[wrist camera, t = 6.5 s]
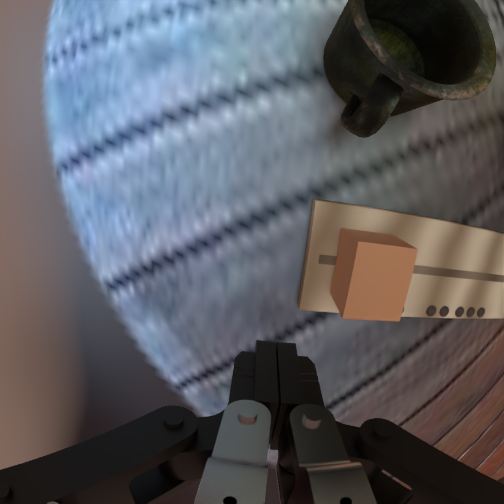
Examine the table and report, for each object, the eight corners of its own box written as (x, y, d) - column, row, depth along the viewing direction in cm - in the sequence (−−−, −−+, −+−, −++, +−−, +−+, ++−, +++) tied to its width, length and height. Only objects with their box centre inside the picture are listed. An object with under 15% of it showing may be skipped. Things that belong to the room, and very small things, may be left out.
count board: (531, 240, 27) (539, 243, 25) (511, 313, 29) (518, 318, 28) (313, 198, 27) (316, 200, 25) (297, 303, 30) (299, 310, 28)
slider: (393, 235, 26) (418, 249, 21) (379, 297, 27) (399, 321, 23) (341, 227, 26) (358, 241, 21) (330, 293, 27) (342, 318, 23)
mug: (437, 61, 23) (508, 26, 11) (381, 174, 26) (451, 181, 15) (347, 1, 22) (384, -67, 10) (278, 111, 25) (288, 69, 14)
